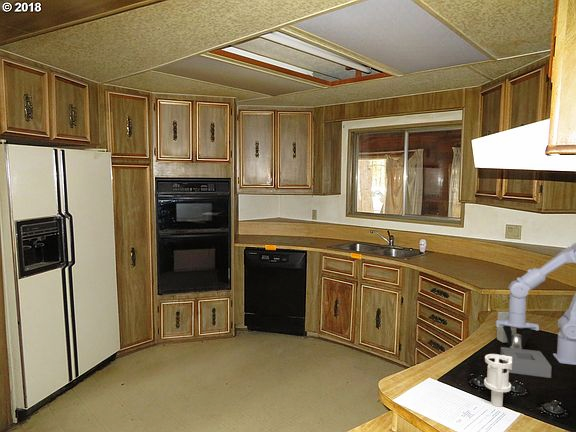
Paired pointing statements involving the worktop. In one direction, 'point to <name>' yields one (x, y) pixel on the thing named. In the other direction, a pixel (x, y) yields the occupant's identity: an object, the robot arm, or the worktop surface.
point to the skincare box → (500, 331)
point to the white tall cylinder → (497, 377)
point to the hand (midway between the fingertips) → (515, 346)
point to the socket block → (527, 362)
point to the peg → (516, 341)
